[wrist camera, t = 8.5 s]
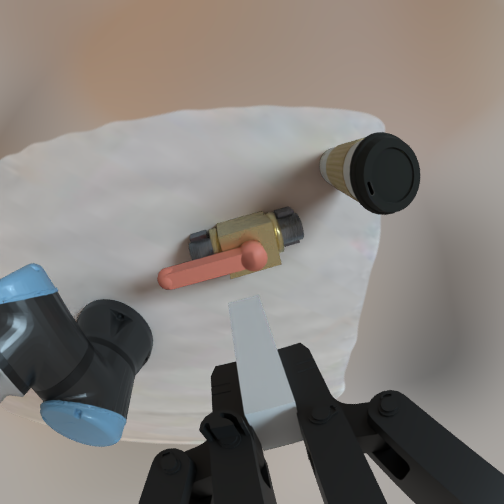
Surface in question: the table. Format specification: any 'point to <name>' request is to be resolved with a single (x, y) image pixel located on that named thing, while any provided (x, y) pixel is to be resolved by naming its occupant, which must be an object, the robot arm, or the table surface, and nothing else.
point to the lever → (214, 266)
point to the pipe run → (250, 236)
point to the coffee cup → (374, 172)
